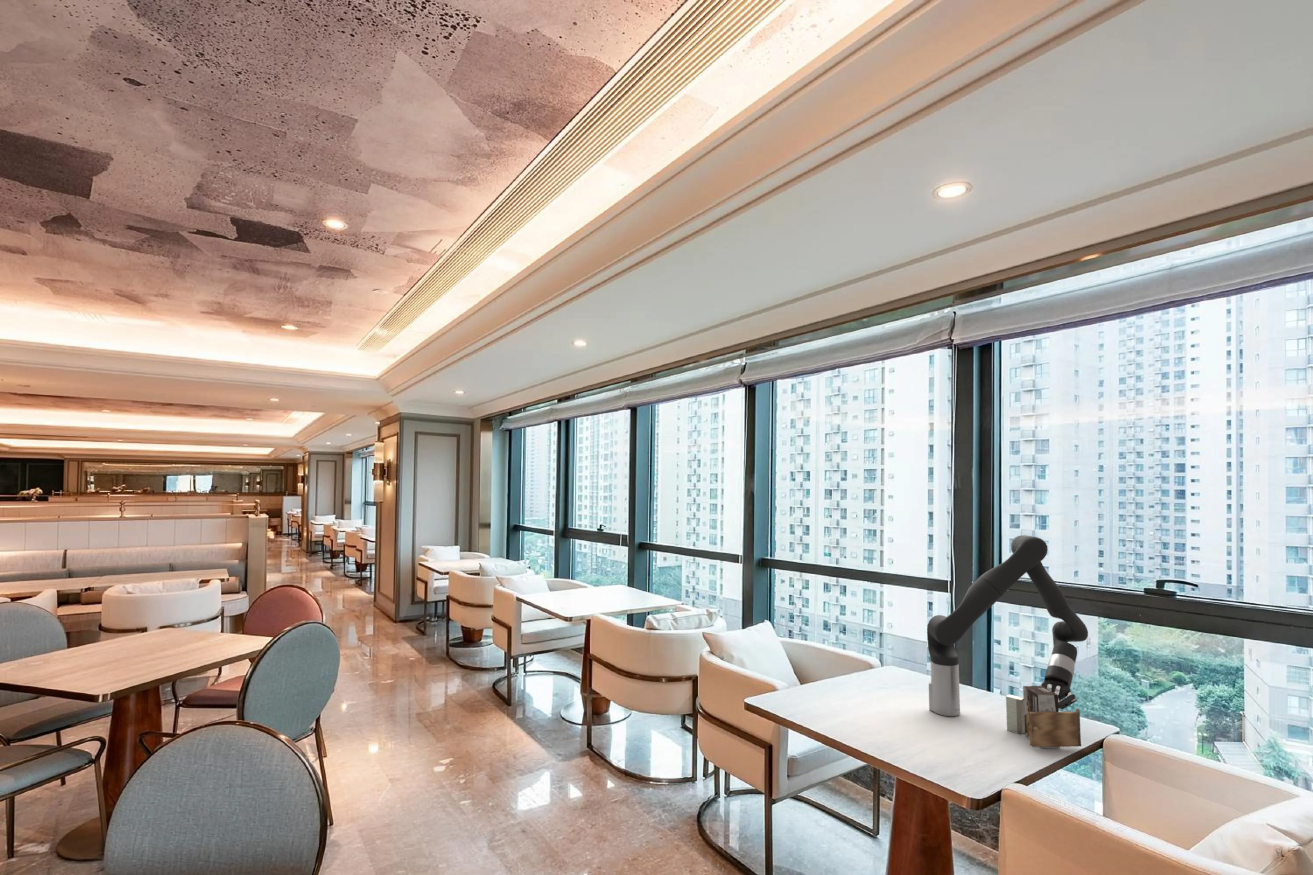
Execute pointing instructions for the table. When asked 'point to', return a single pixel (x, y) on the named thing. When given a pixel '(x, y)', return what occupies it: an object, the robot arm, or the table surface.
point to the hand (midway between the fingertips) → (1048, 716)
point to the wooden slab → (1055, 729)
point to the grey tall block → (1015, 714)
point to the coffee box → (1038, 703)
